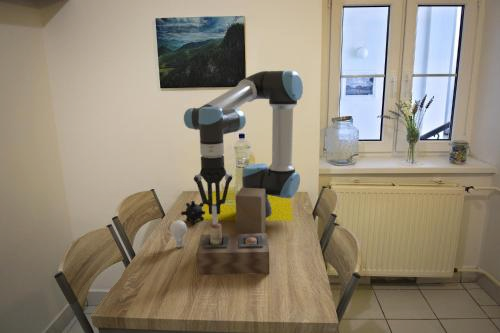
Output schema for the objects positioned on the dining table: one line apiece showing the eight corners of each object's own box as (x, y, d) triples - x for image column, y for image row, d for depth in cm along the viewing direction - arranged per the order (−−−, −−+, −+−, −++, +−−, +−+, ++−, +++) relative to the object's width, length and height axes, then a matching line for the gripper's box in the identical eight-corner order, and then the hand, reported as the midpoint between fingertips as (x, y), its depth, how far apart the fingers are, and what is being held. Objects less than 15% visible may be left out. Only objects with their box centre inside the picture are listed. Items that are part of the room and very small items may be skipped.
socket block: (197, 274, 124) (196, 251, 122) (202, 254, 138) (201, 232, 135) (269, 273, 124) (269, 250, 122) (267, 253, 138) (267, 231, 135)
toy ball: (212, 210, 172) (209, 213, 160) (196, 226, 172) (192, 231, 160) (195, 194, 172) (191, 196, 160) (179, 210, 172) (174, 214, 160)
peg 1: (214, 244, 132) (213, 222, 130) (224, 246, 130) (223, 224, 128) (208, 249, 129) (207, 226, 126) (217, 251, 127) (216, 228, 124)
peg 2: (249, 258, 133) (248, 236, 131) (258, 260, 131) (258, 238, 129) (243, 263, 130) (242, 240, 128) (253, 265, 128) (253, 243, 126)
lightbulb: (179, 242, 148) (178, 216, 145) (191, 246, 144) (189, 219, 141) (167, 248, 143) (165, 221, 140) (179, 252, 139) (177, 225, 136)
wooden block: (261, 245, 143) (261, 196, 138) (236, 243, 145) (235, 195, 140) (265, 234, 153) (265, 188, 148) (242, 232, 155) (241, 187, 150)
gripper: (190, 158, 117) (194, 227, 123) (231, 157, 117) (233, 227, 123) (193, 153, 124) (197, 218, 130) (232, 152, 124) (234, 218, 130)
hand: (215, 222), depth 127 cm, fingers closed
